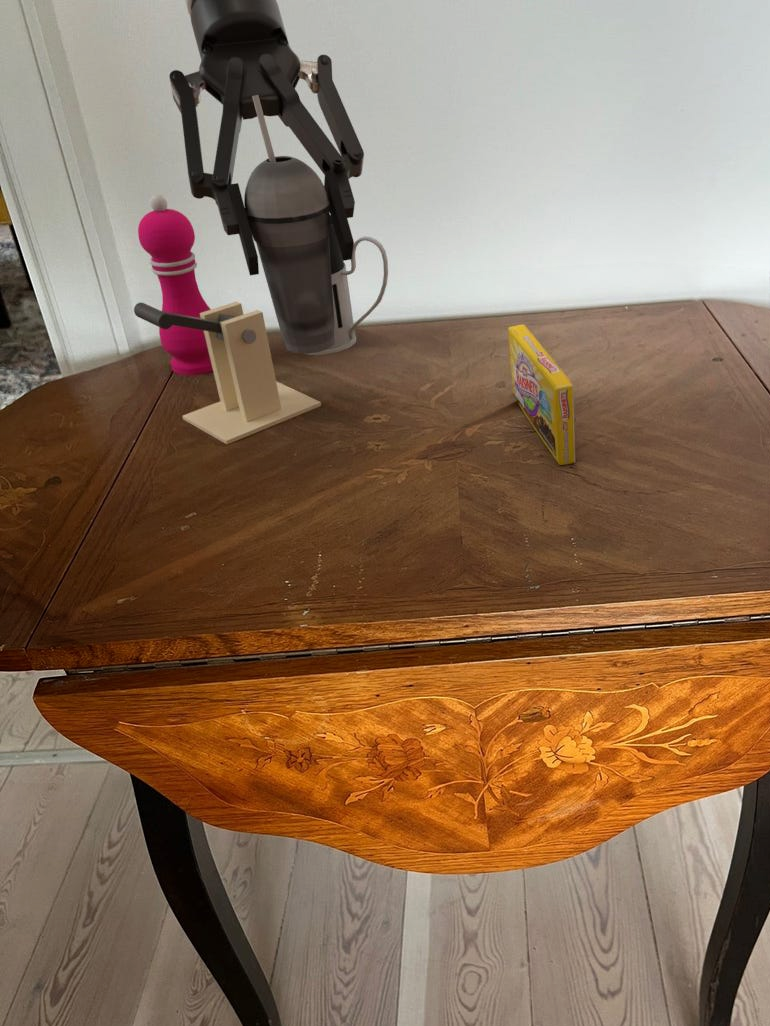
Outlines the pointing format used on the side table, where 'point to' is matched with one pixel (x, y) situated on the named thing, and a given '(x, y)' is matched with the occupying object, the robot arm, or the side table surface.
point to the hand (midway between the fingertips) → (301, 258)
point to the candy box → (543, 393)
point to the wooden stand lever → (179, 319)
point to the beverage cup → (293, 245)
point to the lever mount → (245, 380)
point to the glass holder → (347, 293)
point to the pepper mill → (176, 284)
